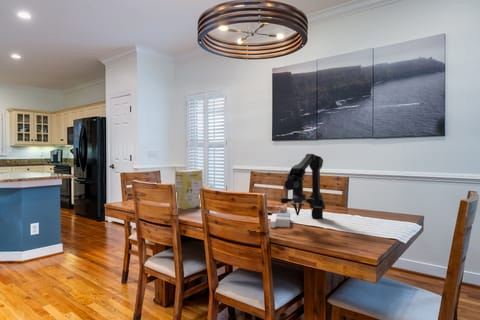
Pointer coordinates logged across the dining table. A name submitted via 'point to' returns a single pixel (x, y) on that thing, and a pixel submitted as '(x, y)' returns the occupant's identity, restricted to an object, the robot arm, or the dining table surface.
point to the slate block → (283, 214)
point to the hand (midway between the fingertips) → (297, 215)
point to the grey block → (282, 221)
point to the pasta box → (188, 188)
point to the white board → (273, 221)
